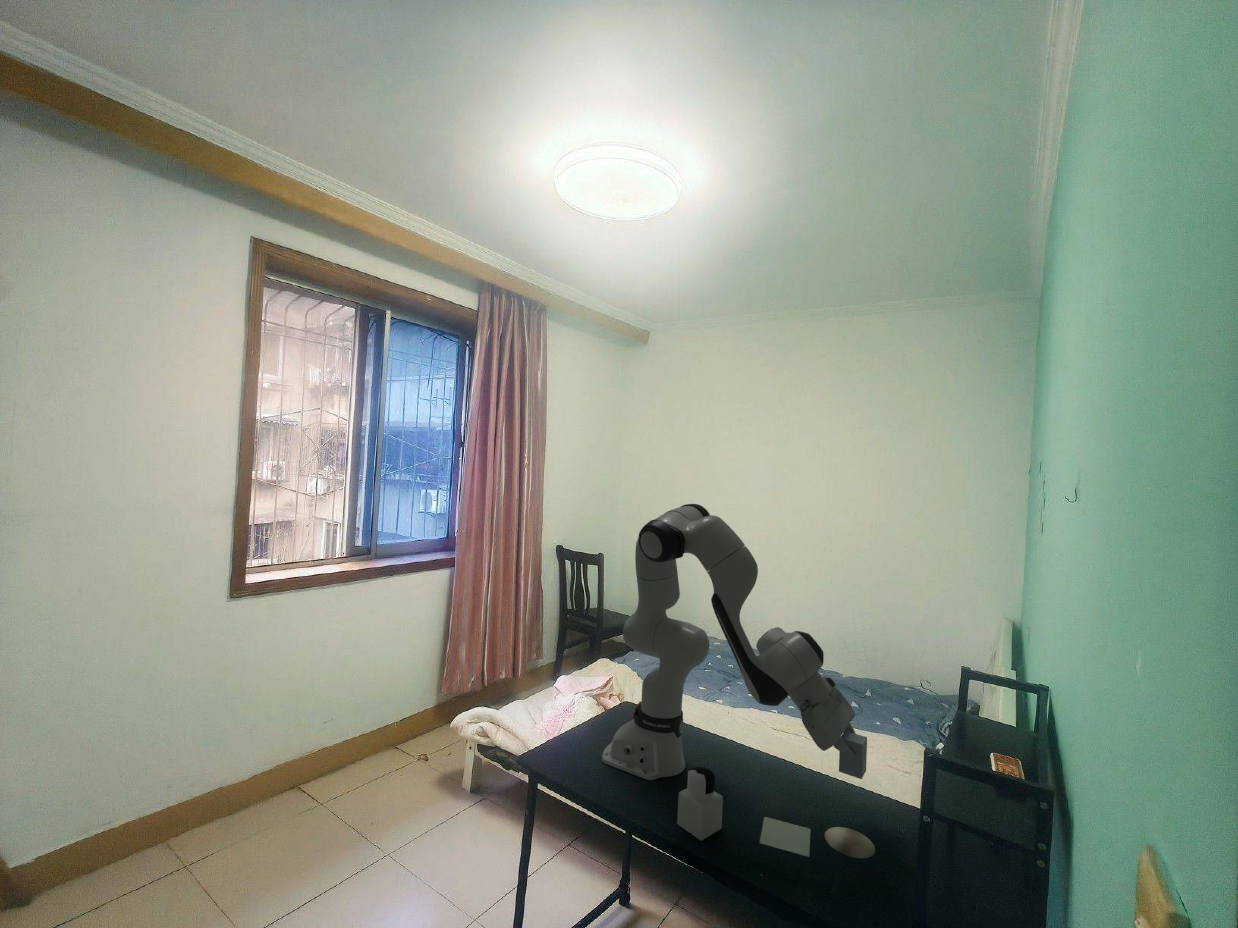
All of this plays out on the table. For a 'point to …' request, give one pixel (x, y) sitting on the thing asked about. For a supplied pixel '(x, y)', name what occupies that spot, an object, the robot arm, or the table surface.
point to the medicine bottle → (700, 804)
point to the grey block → (858, 763)
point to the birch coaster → (849, 842)
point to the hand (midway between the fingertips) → (856, 752)
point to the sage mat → (786, 836)
